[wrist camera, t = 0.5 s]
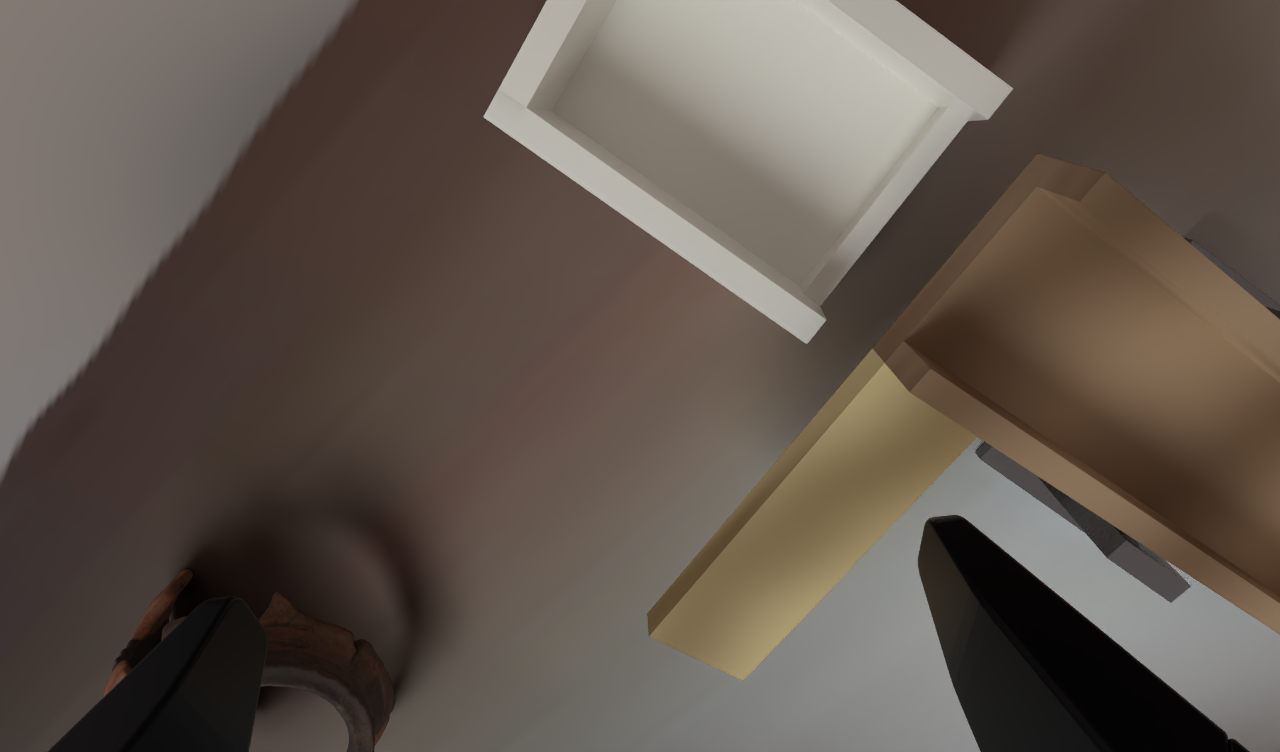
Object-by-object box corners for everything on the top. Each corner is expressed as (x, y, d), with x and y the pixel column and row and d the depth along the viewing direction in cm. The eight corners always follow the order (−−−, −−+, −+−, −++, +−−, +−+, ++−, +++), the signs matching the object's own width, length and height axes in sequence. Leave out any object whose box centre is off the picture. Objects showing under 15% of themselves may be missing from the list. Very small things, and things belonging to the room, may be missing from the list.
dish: (971, 95, 19) (1013, 88, 16) (798, 315, 22) (807, 344, 19) (663, -135, 19) (648, -186, 16) (520, 119, 21) (483, 116, 18)
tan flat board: (1504, 538, 19) (1639, 614, 17) (1101, 832, 24) (1160, 926, 21) (1037, 153, 15) (1128, 178, 12) (647, 613, 19) (653, 701, 17)
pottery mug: (188, 491, 28) (145, 617, 20) (422, 554, 32) (453, 675, 25) (63, 757, 29) (-20, 965, 22) (307, 781, 33) (305, 960, 26)
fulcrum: (1321, 342, 20) (1506, 408, 15) (1100, 540, 23) (1198, 651, 18) (1182, 237, 20) (1326, 272, 15) (975, 452, 22) (1039, 540, 18)
